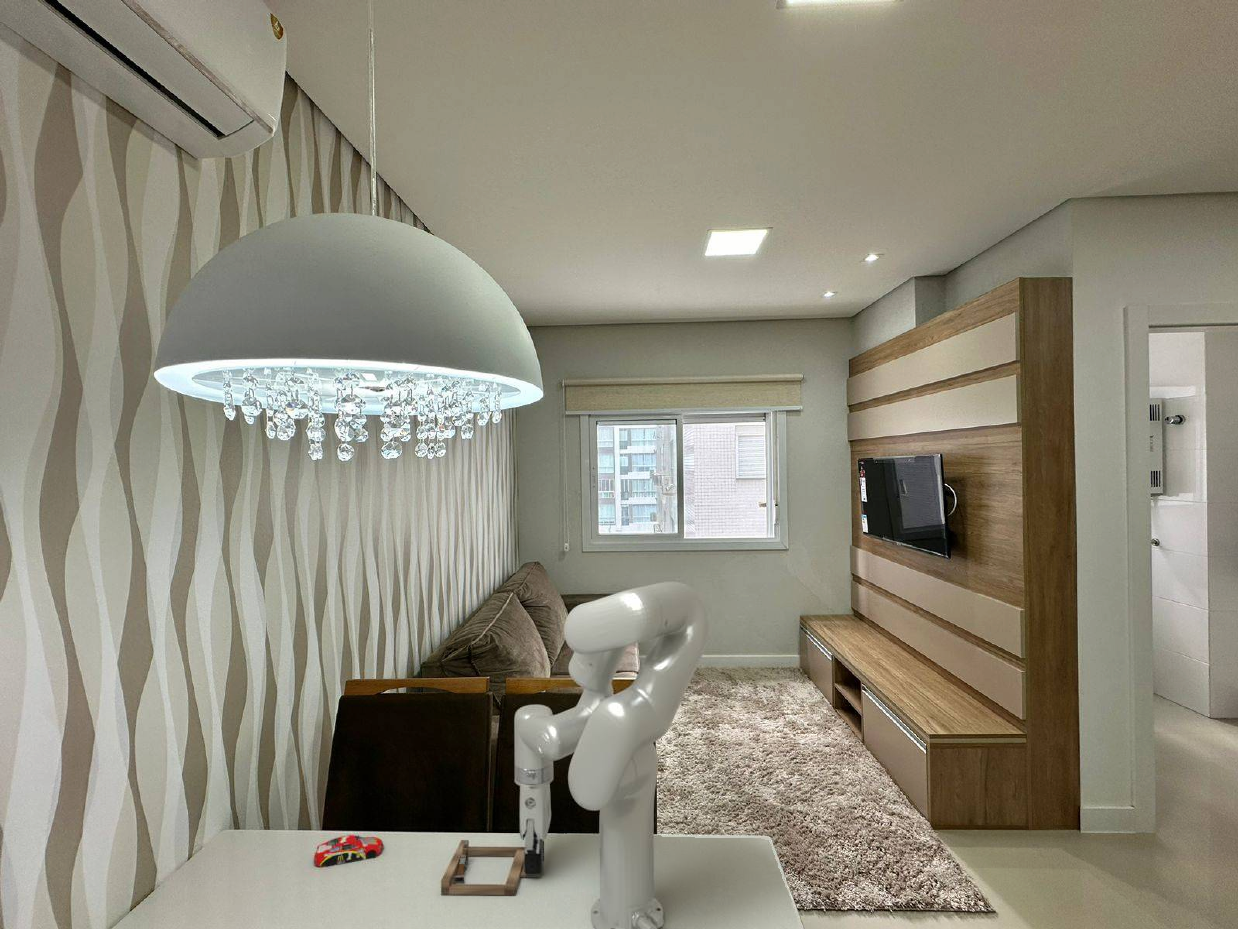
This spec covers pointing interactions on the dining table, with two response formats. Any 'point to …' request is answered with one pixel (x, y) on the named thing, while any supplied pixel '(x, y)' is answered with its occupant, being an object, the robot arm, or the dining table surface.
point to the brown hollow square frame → (487, 889)
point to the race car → (347, 850)
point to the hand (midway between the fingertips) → (534, 866)
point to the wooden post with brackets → (462, 864)
